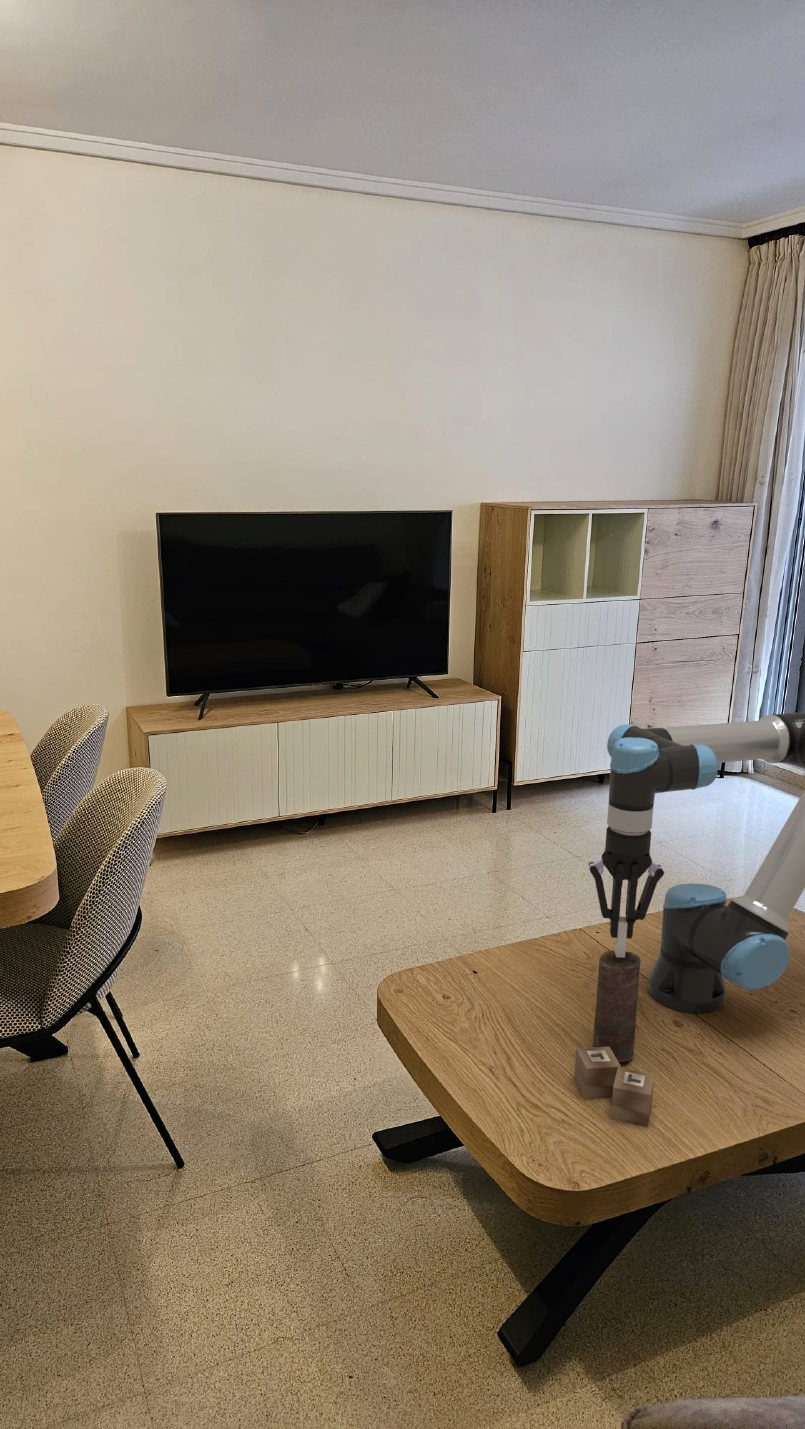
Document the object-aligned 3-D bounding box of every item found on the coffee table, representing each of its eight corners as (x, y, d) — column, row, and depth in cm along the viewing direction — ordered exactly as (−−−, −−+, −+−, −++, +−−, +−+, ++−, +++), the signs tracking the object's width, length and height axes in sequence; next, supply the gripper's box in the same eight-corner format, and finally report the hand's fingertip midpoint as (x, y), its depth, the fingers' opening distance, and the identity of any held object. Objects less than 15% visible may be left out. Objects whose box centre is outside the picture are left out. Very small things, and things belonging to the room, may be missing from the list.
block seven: (651, 1105, 165) (654, 1071, 164) (648, 1127, 160) (651, 1092, 158) (615, 1098, 167) (618, 1064, 166) (610, 1119, 162) (613, 1084, 160)
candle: (624, 1072, 174) (632, 970, 169) (585, 1059, 178) (592, 959, 173) (638, 1052, 181) (647, 952, 176) (600, 1040, 184) (607, 942, 180)
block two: (607, 1076, 173) (609, 1043, 172) (618, 1097, 167) (621, 1063, 166) (574, 1078, 172) (576, 1045, 171) (584, 1099, 167) (586, 1065, 165)
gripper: (663, 822, 172) (653, 945, 178) (588, 819, 173) (580, 942, 178) (671, 837, 165) (660, 965, 170) (593, 834, 166) (584, 961, 171)
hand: (619, 953), depth 174 cm, fingers closed
